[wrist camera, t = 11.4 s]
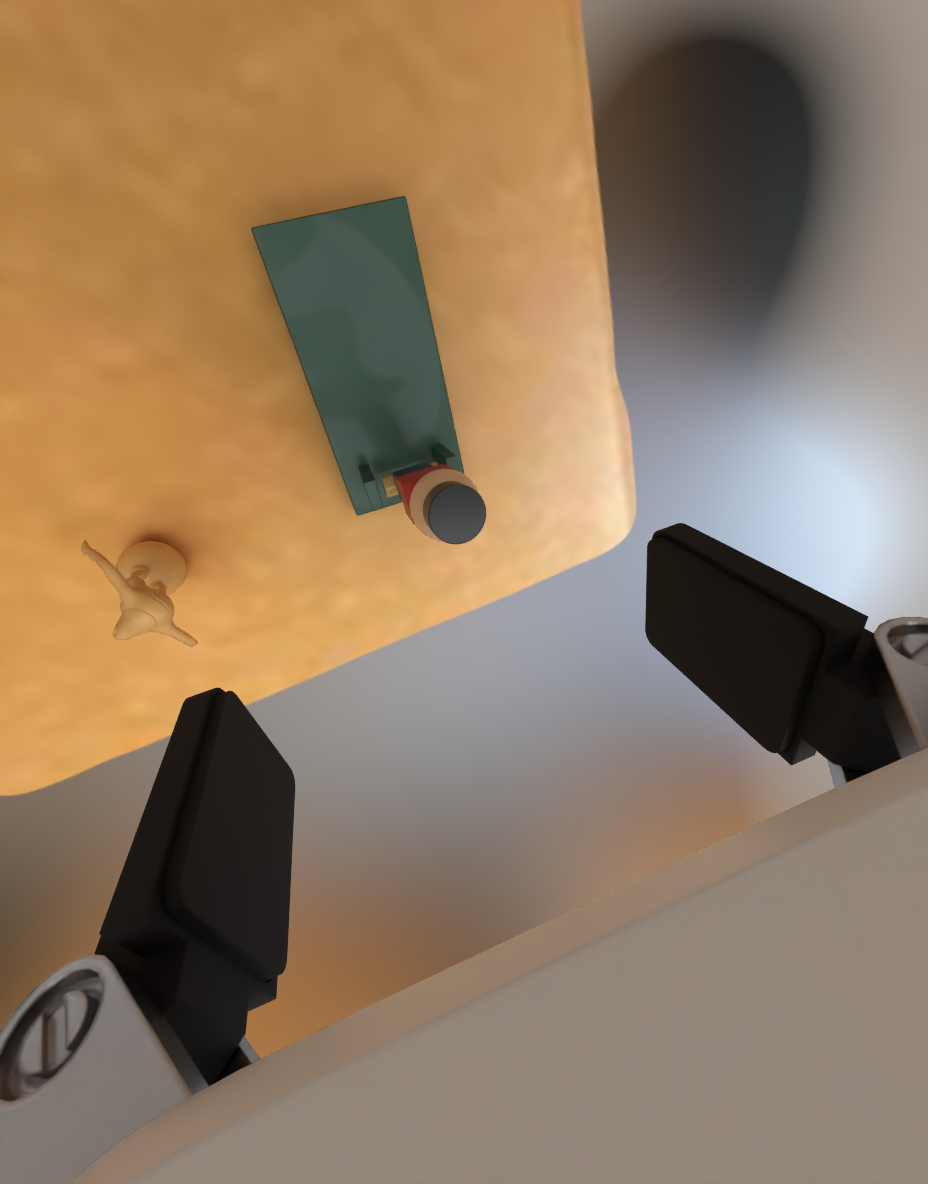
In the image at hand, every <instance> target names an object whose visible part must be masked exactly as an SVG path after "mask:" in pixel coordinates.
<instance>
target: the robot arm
mask: <svg viewBox="0 0 928 1184" xmlns="http://www.w3.org/2000/svg"><path fill="white" fill-rule="evenodd" d="M867 619H868V616H866V615H864V614H862V613H860V612H858V611H856V610H854V609H852V608H850V607H848V606H846V605H844V604H842V603H840V602H838V601H836V600H834V599H832V598H830V597H828V596H826V595H824V594H822V593H820V592H818V591H816V590H814V589H813V588H811V587H809V586H807V585H804V584H803V583H801V582H799V581H797V580H795V579H793V578H791V577H789V576H787V575H785V574H783V573H781V572H779V571H777V570H775V569H773V568H771V567H769V566H767V565H765V564H763V563H761V562H759V561H757V560H755V559H753V558H751V557H749V556H747V555H745V554H743V553H741V552H739V551H737V550H735V549H734V548H732V547H730V546H727V545H726V544H724V543H721V542H720V541H718V540H716V539H714V538H712V537H710V536H708V535H706V534H704V533H702V532H700V531H698V530H696V529H694V528H692V527H690V526H688V525H686V524H683V523H678V524H675V525H672V526H670V527H667V528H664V529H661V530H658V531H656V532H655V533H654V535H653V537H652V540H650V541H649V543H648V546H647V583H646V624H645V631H646V636H647V638H648V640H649V642H650V643H651V644H652V646H654V647H655V648H656V649H657V650H658V651H659V652H660V653H661V654H662V655H663V656H664V657H665V658H667V659H668V660H669V661H670V662H671V663H672V664H673V665H674V666H675V667H676V668H678V669H679V670H680V671H681V672H682V673H683V674H684V675H685V676H686V677H687V678H688V679H690V680H691V681H692V682H693V683H694V684H695V685H696V686H697V687H698V688H699V689H700V690H701V691H703V692H704V693H705V694H706V695H707V696H708V697H709V698H710V699H711V700H712V701H713V702H714V703H716V704H717V705H718V706H719V707H720V708H721V709H722V710H723V711H724V712H725V713H726V714H728V715H729V716H730V717H731V718H732V719H733V720H734V721H735V722H736V723H737V724H739V725H740V726H741V727H742V728H743V729H744V730H745V731H746V732H747V733H748V734H749V735H750V736H752V737H753V738H754V739H755V740H756V741H757V742H758V743H759V744H760V745H761V746H762V747H764V748H765V749H766V750H768V751H770V752H772V753H778V754H779V755H781V756H782V757H783V758H784V759H785V760H786V761H787V762H788V763H789V764H790V765H794V764H796V763H798V762H800V761H802V760H805V759H807V758H809V757H811V756H813V755H815V753H816V750H817V751H818V752H819V753H820V754H822V755H823V756H824V757H825V758H827V759H828V763H829V767H830V771H831V775H832V779H833V783H834V787H835V788H834V789H832V790H830V791H828V792H826V793H823V794H821V795H819V796H817V797H815V798H813V799H810V800H808V801H806V802H804V803H802V804H800V805H797V806H795V807H793V808H791V809H789V810H787V811H784V812H782V813H780V814H778V815H776V816H774V817H771V818H769V819H767V820H765V821H763V822H761V823H758V824H756V825H754V826H752V827H750V828H747V829H745V830H743V831H741V832H739V833H737V834H734V835H732V836H730V837H728V838H726V839H724V840H721V841H719V842H717V843H715V844H713V845H711V846H709V847H706V848H704V849H702V850H700V851H698V852H695V853H694V854H691V855H689V856H687V857H685V858H683V859H680V860H678V861H676V862H674V863H672V864H670V865H668V866H666V867H664V868H661V869H659V870H657V871H655V872H653V873H651V874H648V875H646V876H644V877H642V878H640V879H638V880H635V881H634V882H631V883H629V884H627V885H625V886H623V887H620V888H618V889H616V890H614V891H612V892H610V893H608V894H606V895H603V896H601V897H599V898H597V899H595V900H593V901H590V902H588V903H586V904H584V905H582V906H580V907H578V908H576V909H573V910H571V911H569V912H567V913H565V914H563V915H561V916H558V917H557V918H554V919H552V920H550V921H548V922H546V923H543V924H541V925H539V926H537V927H535V928H533V929H531V930H529V931H526V932H524V933H522V934H520V935H518V936H516V937H514V938H512V939H509V940H508V941H505V942H503V943H501V944H499V945H497V946H495V947H493V948H491V949H488V950H486V951H484V952H482V953H480V954H478V955H476V956H473V957H471V958H469V959H467V960H465V961H463V962H461V963H459V964H457V965H454V966H452V967H450V968H448V969H446V970H444V971H442V972H440V973H438V974H435V975H433V976H431V977H429V978H427V979H425V980H423V981H421V982H419V983H417V984H414V985H412V986H410V987H408V988H406V989H404V990H402V991H400V992H398V993H396V994H393V995H391V996H389V997H387V998H385V999H383V1000H381V1001H378V1002H376V1003H374V1004H372V1005H370V1006H368V1007H366V1008H364V1009H361V1010H359V1011H357V1012H355V1013H353V1014H351V1015H349V1016H347V1017H345V1018H343V1019H341V1020H339V1021H337V1022H335V1023H333V1024H331V1025H329V1026H327V1027H325V1028H323V1029H321V1030H319V1031H317V1032H315V1033H313V1034H311V1035H309V1036H307V1037H305V1038H303V1039H301V1040H299V1041H297V1042H295V1043H293V1044H291V1045H289V1046H286V1047H285V1048H283V1049H280V1050H278V1051H276V1052H274V1053H272V1054H270V1055H269V1056H266V1057H264V1058H262V1059H260V1057H259V1056H258V1055H257V1053H256V1052H255V1050H254V1049H253V1048H252V1047H251V1045H250V1044H249V1042H248V1041H247V1040H246V1039H245V1037H244V1035H245V1033H246V1023H247V1013H248V1011H250V1010H252V1009H255V1008H257V1007H259V1006H261V1005H263V1004H266V1003H268V1002H270V1001H272V1000H274V999H276V993H277V976H278V975H280V974H282V973H283V972H284V970H285V967H286V963H287V948H288V928H289V907H290V905H289V904H290V886H291V864H292V843H293V821H294V800H295V779H294V775H293V772H292V770H291V768H290V767H289V765H288V764H287V763H286V761H285V760H284V759H283V757H282V756H281V755H280V753H279V752H278V751H277V749H276V748H275V746H274V745H273V744H272V742H271V741H270V740H269V738H268V737H267V736H266V734H265V733H264V732H263V730H262V729H261V728H260V726H259V725H258V724H257V722H256V721H255V719H254V718H253V717H252V715H251V714H250V713H249V711H248V710H247V709H246V707H245V706H244V705H243V703H242V702H241V700H240V699H239V698H238V696H237V695H236V694H235V693H234V692H232V691H227V692H225V691H224V690H222V689H221V688H214V689H211V690H208V691H206V692H203V693H200V694H197V695H194V696H192V697H189V698H187V699H186V700H185V701H184V703H183V705H182V708H181V711H180V713H179V716H178V719H177V722H176V724H175V727H174V730H173V733H172V735H171V738H170V741H169V744H168V746H167V749H166V752H165V755H164V757H163V760H162V763H161V766H160V768H159V772H158V774H157V777H156V779H155V782H154V785H153V788H152V790H151V793H150V796H149V799H148V801H147V804H146V807H145V810H144V813H143V815H142V818H141V821H140V823H139V827H138V829H137V832H136V834H135V837H134V841H133V843H132V845H131V848H130V851H129V854H128V856H127V859H126V862H125V865H124V868H123V870H122V873H121V876H120V879H119V881H118V884H117V887H116V889H115V892H114V895H113V898H112V901H111V903H110V906H109V909H108V911H107V914H106V917H105V920H104V922H103V925H102V928H101V931H100V933H99V934H100V935H101V937H100V940H99V943H98V945H97V948H96V951H95V954H89V955H86V956H83V957H80V958H77V959H74V960H72V961H70V962H69V963H67V964H65V965H64V966H62V967H60V968H59V969H58V970H56V971H54V972H53V973H52V974H51V975H49V976H48V977H47V978H46V979H45V980H43V981H42V982H41V983H40V984H39V985H38V986H36V987H35V988H34V989H33V990H32V991H31V992H30V994H29V995H28V996H27V997H26V998H25V999H24V1000H23V1001H22V1002H21V1004H20V1005H19V1006H18V1007H17V1008H16V1009H15V1010H14V1012H13V1013H12V1014H11V1016H10V1017H9V1019H8V1020H7V1022H6V1023H5V1024H4V1026H3V1027H2V1029H1V1030H0V1184H928V618H922V617H901V618H896V619H891V620H888V621H886V622H884V623H882V624H880V625H879V626H878V628H877V629H876V631H875V633H872V632H870V631H868V630H866V629H865V628H864V627H865V624H866V621H867Z"/></svg>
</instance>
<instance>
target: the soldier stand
mask: <svg viewBox="0 0 928 1184" xmlns="http://www.w3.org/2000/svg"><path fill="white" fill-rule="evenodd" d="M251 229H252V233H253V235H254V238H255V241H256V243H257V246H258V249H259V252H260V254H261V257H262V260H263V262H264V265H265V268H266V271H267V273H268V276H269V279H270V281H271V284H272V287H273V290H274V292H275V295H276V298H277V301H278V303H279V306H280V309H281V311H282V314H283V317H284V320H285V322H286V325H287V328H288V330H289V333H290V336H291V339H292V341H293V344H294V347H295V349H296V352H297V355H298V358H299V360H300V363H301V366H302V368H303V371H304V374H305V377H306V379H307V382H308V385H309V387H310V390H311V393H312V396H313V398H314V401H315V404H316V406H317V409H318V412H319V415H320V417H321V420H322V423H323V425H324V428H325V431H326V434H327V436H328V439H329V442H330V444H331V447H332V450H333V453H334V455H335V458H336V461H337V464H338V466H339V469H340V472H341V474H342V477H343V480H344V483H345V485H346V488H347V491H348V493H349V496H350V499H351V502H352V504H353V507H354V510H355V512H356V515H361V514H365V513H368V512H371V511H375V510H378V509H382V508H384V507H388V506H391V505H394V504H397V503H401V502H403V501H402V500H401V499H400V497H399V494H398V495H395V496H391V497H386V494H385V491H384V488H383V485H382V482H381V477H384V476H387V475H391V474H392V472H395V471H398V470H402V469H405V468H408V467H412V466H415V465H419V464H422V463H431V462H437V463H438V465H439V464H444V465H447V466H449V467H452V468H454V470H456V471H459V472H461V473H463V474H464V470H463V465H462V461H461V456H460V451H459V446H458V442H457V437H456V432H455V428H454V423H453V418H452V413H451V409H450V404H449V399H448V394H447V390H446V385H445V380H444V375H443V371H442V366H441V361H440V356H439V352H438V347H437V342H436V338H435V333H434V328H433V323H432V319H431V314H430V309H429V304H428V300H427V295H426V290H425V285H424V281H423V276H422V271H421V266H420V262H419V257H418V252H417V247H416V243H415V238H414V233H413V229H412V224H411V219H410V214H409V210H408V205H407V200H406V197H405V196H402V197H397V198H392V199H388V200H383V201H378V202H373V203H368V204H363V205H359V206H354V207H349V208H344V209H339V210H334V211H330V212H325V213H320V214H315V215H310V216H305V217H301V218H296V219H291V220H286V221H281V222H277V223H272V224H267V225H262V226H257V227H252V228H251Z"/></svg>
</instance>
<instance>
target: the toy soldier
mask: <svg viewBox="0 0 928 1184" xmlns="http://www.w3.org/2000/svg"><path fill="white" fill-rule="evenodd" d="M381 482H382V485H383V488H384V491H385V494H386V497H391V496H395V495H398V494H399V497H400V499H401V500H402V501H403V504H404V507H405V511H406V514H407V515H408V517H409V518H410V519H411V521H412V522H413V524H415V525H416V526H417V528H418V529H419V530H420V531H421V532H422V533H423V534H425V535H426V536H428V537H429V538H431V539H434V540H437V541H444V542H446V543H449V544H462V543H466V542H468V541H470V540H472V539H473V538H474V537H476V536H477V535H478V534H479V532H480V531H481V529H482V528H483V526H484V523H485V519H486V507H485V504H484V501H483V499H482V497H481V496H480V494H479V492H478V490H477V488H476V486H475V484H474V483H473V482H472V481H471V480H470V479H469V478H468V477H467V476H466V475H464V474H463V473H461V472H459V471H456V470H454V468H452V467H449V466H447V465H444V464H439V465H438V463H437V462H431V463H422V464H419V465H415V466H412V467H408V468H405V469H402V470H398V471H395V472H392V474H391V475H387V476H384V477H381Z"/></svg>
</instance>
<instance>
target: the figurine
mask: <svg viewBox="0 0 928 1184" xmlns="http://www.w3.org/2000/svg"><path fill="white" fill-rule="evenodd" d="M81 549H82V552H83V555H85V554H86V555H87V556H88V557H89V558H90V559H91V560H93V561H95V562H96V563H97V564H98V566H99V567H100V568H101V569H102V570H103V572H104V573H105V575H106V576H107V578H108V579H109V581H110V582H111V583H112V585H113V586H114V587H115V588H116V590H117V592H118V594H119V596H120V599H121V603H120V609H121V612H122V615H121V617H120V619H119V621H118V622H117V624H116V626H115V628H114V631H113V637H114V638H115V639H116V640H128V639H131V638H133V637H135V636H138V635H140V634H143V633H146V632H156V633H161V634H164V635H168V636H171V637H173V638H174V639H176V640H178V641H180V642H183V643H184V644H186V645H188V646H190V647H193V646H196V645H197V644H198V642H197V640H195V639H194V638H193V637H192V636H190V635H189V634H188V633H186V632H185V631H183V630H181V629H180V628H178V627H176V626H175V625H174V623H173V615H174V606H173V603H172V601H171V599H170V598H169V596H167V595H169V594H171V593H173V592H175V591H176V590H177V589H178V588H179V587H180V586H181V585H182V583H183V582H184V579H185V577H186V564H185V561H184V559H183V558H182V556H181V555H180V553H179V552H178V551H176V550H175V549H174V548H172V547H171V546H169V545H167V544H164V543H161V542H156V541H144V542H139V543H136V544H134V545H132V546H130V547H128V548H127V549H126V550H124V551H123V552H122V554H121V555H120V556H119V558H118V561H117V564H116V568H115V567H114V566H113V565H112V564H111V563H110V562H109V561H108V560H107V559H106V558H105V557H104V556H102V555H101V554H100V553H99V552H97V551H96V550H94V549H92V548H91V547H90V546H89V545H88V543H87V542H86V540H84V542H83V543H82V548H81Z"/></svg>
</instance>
